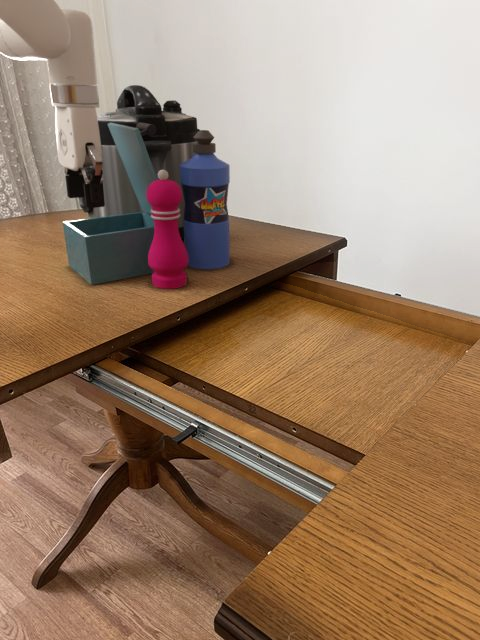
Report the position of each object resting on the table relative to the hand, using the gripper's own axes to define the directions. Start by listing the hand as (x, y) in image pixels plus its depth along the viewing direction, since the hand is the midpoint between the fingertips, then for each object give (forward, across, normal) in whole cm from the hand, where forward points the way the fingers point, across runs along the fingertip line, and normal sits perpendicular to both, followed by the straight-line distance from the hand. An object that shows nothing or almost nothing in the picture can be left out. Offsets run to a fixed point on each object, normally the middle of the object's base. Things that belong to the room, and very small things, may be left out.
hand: (85, 202), depth 98 cm
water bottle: (+13, +6, +22) cm, 26 cm away
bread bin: (+13, -1, +6) cm, 14 cm away
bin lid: (-4, 0, +11) cm, 11 cm away
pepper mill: (+13, +12, +10) cm, 21 cm away
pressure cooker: (+13, -22, +21) cm, 33 cm away
